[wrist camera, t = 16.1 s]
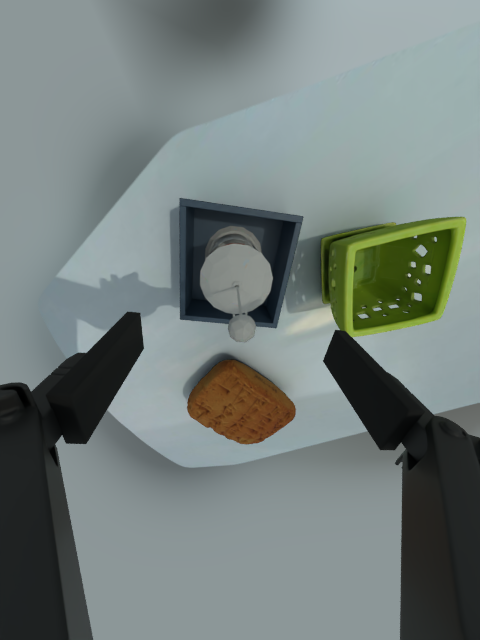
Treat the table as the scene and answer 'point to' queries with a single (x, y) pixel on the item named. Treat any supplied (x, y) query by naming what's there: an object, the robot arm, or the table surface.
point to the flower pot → (390, 274)
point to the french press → (236, 278)
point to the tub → (276, 246)
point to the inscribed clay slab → (240, 403)
